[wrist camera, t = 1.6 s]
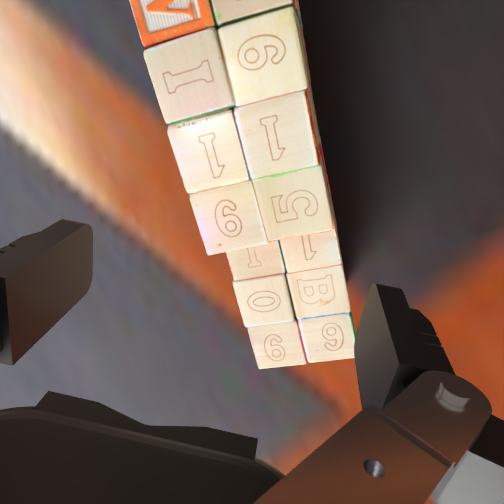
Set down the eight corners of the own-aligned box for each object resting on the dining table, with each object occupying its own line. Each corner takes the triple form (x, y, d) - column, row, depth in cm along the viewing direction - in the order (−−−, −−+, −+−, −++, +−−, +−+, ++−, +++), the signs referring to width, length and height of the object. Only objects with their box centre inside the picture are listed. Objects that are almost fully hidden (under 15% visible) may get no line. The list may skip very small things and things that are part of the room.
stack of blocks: (348, 286, 33) (365, 397, 22) (270, 297, 35) (248, 407, 23) (294, -26, 26) (277, -102, 14) (196, 4, 27) (112, -44, 16)
